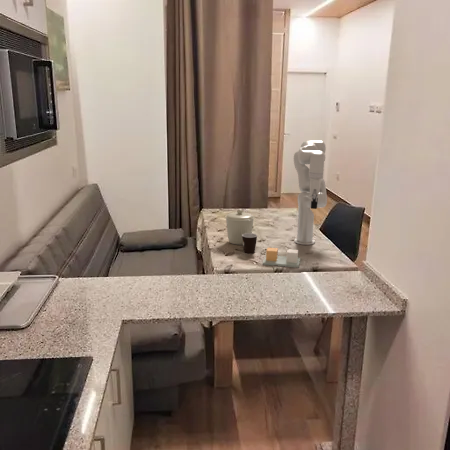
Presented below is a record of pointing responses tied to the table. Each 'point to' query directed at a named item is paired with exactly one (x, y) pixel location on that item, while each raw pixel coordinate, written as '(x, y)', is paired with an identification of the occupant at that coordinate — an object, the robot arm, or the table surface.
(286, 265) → the junction board
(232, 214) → the canister
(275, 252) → the tan wooden cube
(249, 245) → the coffee mug
